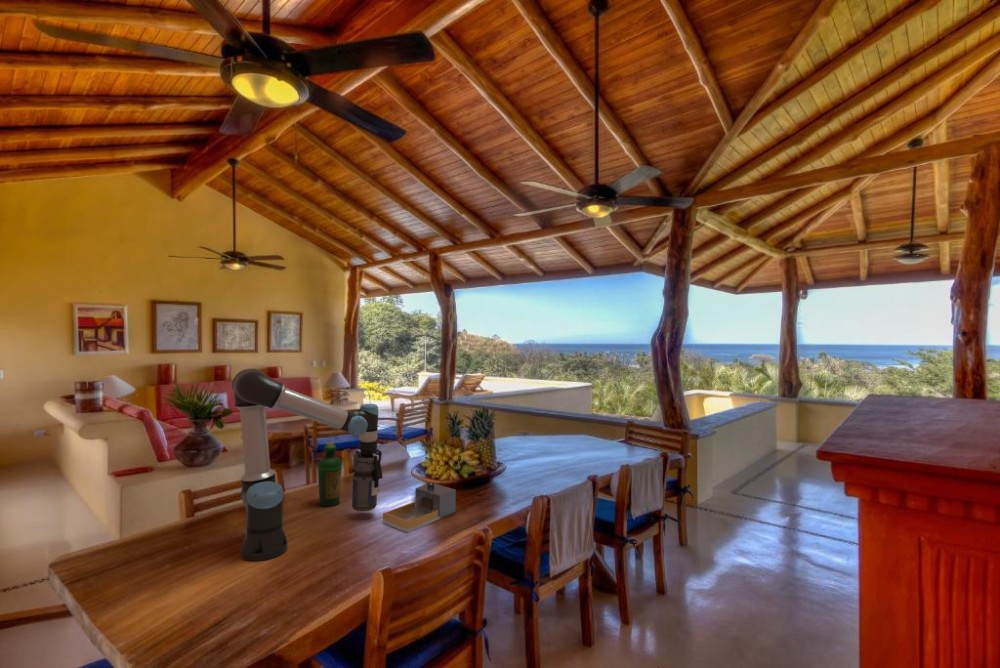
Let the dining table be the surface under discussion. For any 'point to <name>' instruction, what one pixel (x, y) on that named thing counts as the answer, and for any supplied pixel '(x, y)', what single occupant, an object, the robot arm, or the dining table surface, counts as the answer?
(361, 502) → the beverage bottle
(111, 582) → the dining table surface
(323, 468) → the bottle
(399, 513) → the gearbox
